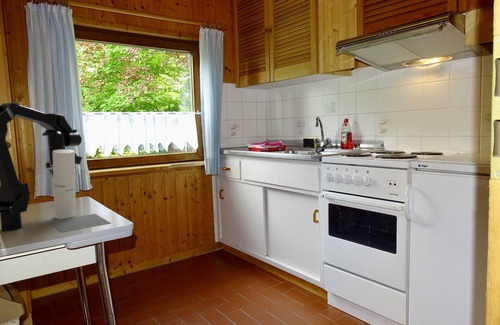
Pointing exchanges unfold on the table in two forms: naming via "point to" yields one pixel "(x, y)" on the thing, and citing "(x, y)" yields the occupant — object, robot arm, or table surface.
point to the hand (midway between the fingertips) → (60, 187)
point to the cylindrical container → (64, 183)
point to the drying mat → (79, 222)
